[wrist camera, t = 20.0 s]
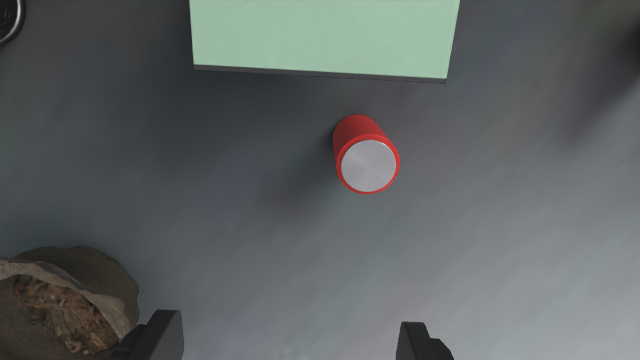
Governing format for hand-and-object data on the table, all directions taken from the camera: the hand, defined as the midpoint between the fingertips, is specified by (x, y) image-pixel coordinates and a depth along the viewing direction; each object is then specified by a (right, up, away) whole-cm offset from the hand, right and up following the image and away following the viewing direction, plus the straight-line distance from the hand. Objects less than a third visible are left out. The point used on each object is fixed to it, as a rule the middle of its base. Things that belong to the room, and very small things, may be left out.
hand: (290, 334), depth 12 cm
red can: (+5, +10, +26) cm, 29 cm away
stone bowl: (-32, -11, +34) cm, 48 cm away
